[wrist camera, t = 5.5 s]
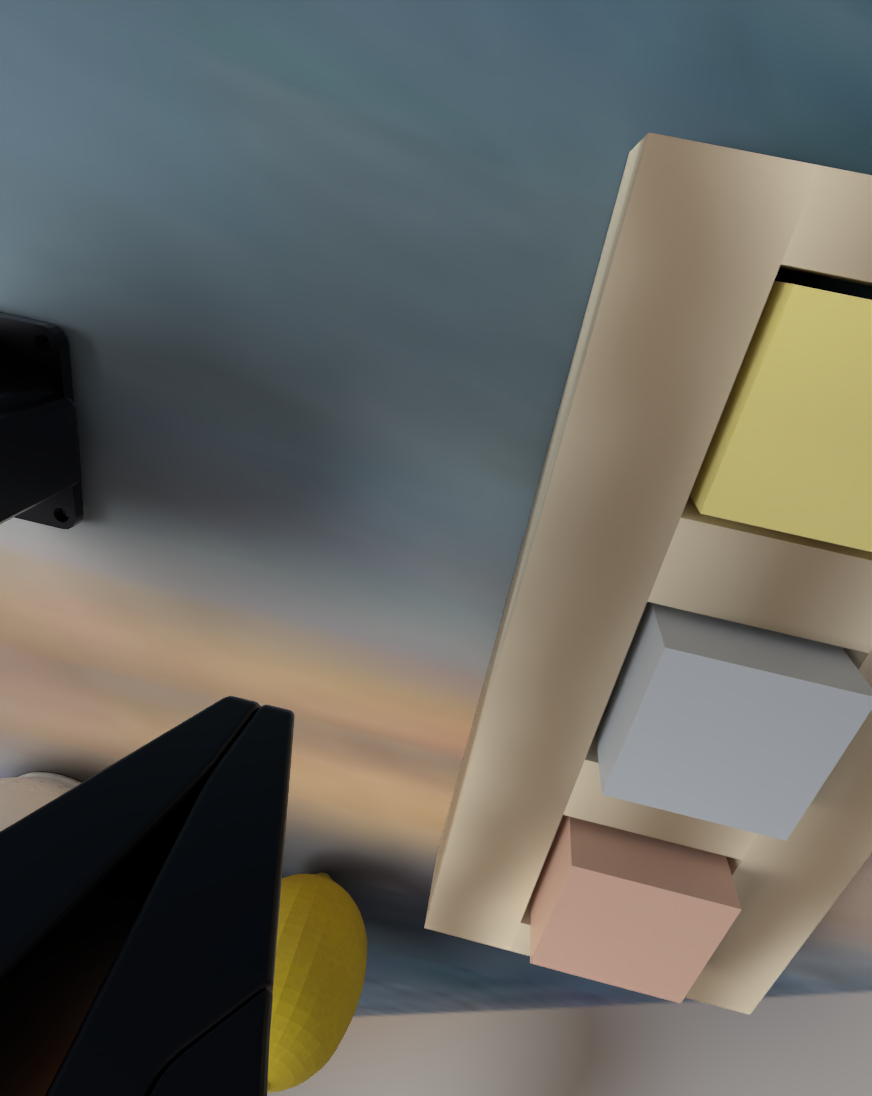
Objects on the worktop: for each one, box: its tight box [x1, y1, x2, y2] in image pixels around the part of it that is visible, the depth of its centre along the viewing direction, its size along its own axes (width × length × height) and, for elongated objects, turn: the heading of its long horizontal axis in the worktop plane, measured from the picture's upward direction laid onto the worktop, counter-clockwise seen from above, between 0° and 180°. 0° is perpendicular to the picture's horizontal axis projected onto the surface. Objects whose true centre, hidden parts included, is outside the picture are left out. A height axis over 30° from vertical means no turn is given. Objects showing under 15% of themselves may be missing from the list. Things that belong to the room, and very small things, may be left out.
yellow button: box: [690, 281, 872, 552], centre depth 15 cm, size 5×5×3 cm
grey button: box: [596, 602, 872, 841], centre depth 17 cm, size 5×5×3 cm
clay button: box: [530, 815, 742, 1003], centre depth 21 cm, size 5×5×3 cm
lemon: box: [267, 873, 367, 1092], centre depth 24 cm, size 6×6×8 cm
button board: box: [424, 133, 872, 1014], centre depth 19 cm, size 12×25×3 cm, turn 170°
